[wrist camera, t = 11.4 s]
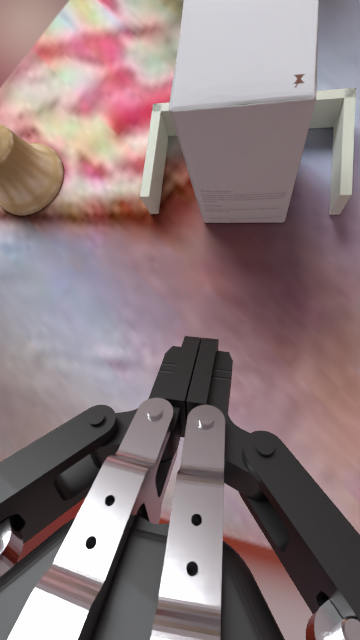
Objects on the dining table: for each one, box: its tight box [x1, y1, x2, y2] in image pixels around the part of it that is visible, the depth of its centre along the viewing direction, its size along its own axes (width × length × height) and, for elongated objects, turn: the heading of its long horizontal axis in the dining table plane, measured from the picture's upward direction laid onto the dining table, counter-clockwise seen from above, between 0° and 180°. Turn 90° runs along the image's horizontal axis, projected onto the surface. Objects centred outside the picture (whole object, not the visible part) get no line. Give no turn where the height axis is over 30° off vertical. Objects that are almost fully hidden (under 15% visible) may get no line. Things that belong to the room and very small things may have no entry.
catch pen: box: [140, 88, 356, 215], centre depth 26 cm, size 9×17×3 cm, turn 83°
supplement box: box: [169, 0, 319, 223], centre depth 22 cm, size 7×7×13 cm
